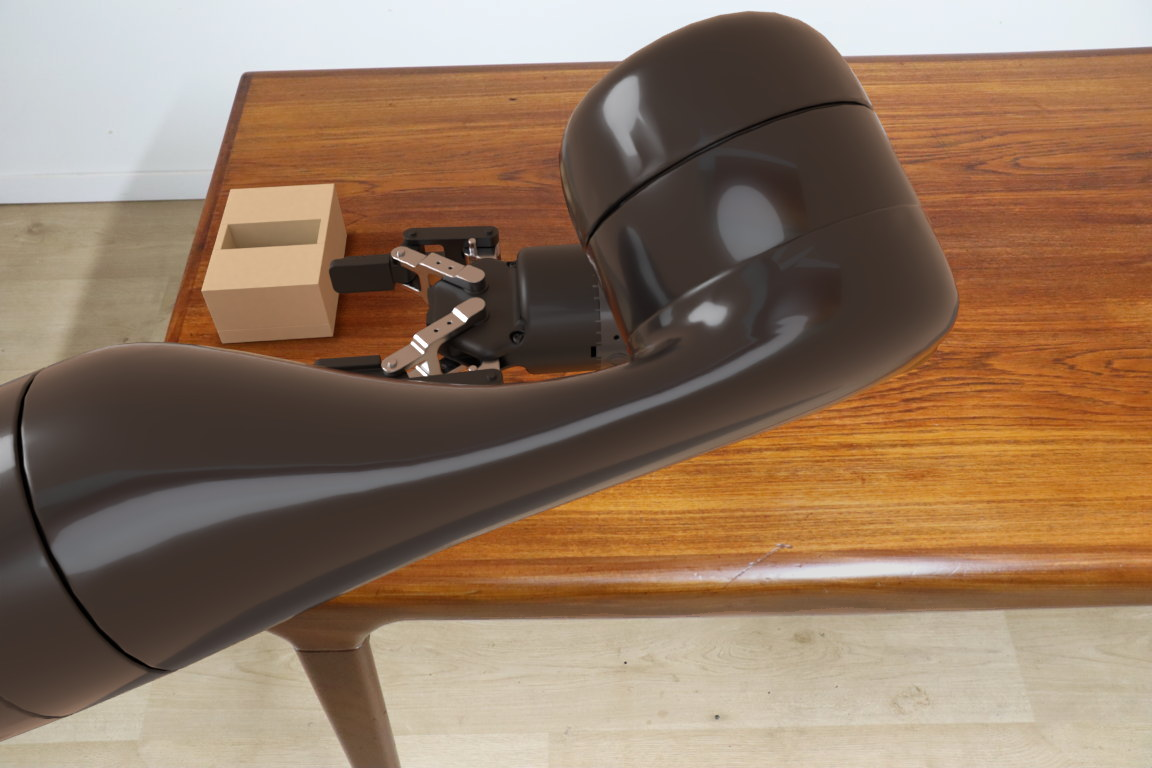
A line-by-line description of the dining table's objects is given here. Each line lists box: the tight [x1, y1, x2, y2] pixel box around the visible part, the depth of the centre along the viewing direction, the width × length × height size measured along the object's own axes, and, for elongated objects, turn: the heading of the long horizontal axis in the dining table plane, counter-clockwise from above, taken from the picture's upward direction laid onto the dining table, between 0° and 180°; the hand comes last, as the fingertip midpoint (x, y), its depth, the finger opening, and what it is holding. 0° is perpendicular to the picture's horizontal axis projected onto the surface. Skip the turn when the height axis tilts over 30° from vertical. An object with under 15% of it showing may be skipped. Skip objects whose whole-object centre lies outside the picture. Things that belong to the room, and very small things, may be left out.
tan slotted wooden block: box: [201, 183, 348, 344], centre depth 84 cm, size 15×9×6 cm, turn 5°
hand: (324, 325), depth 55 cm, fingers open, 8 cm apart
